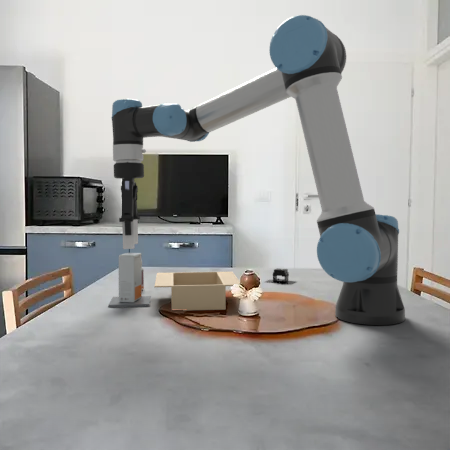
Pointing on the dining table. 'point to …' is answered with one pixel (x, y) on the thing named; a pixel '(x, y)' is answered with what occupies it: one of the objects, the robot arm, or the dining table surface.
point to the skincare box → (130, 277)
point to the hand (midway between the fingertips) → (131, 246)
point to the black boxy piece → (284, 274)
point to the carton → (197, 289)
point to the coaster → (139, 303)
